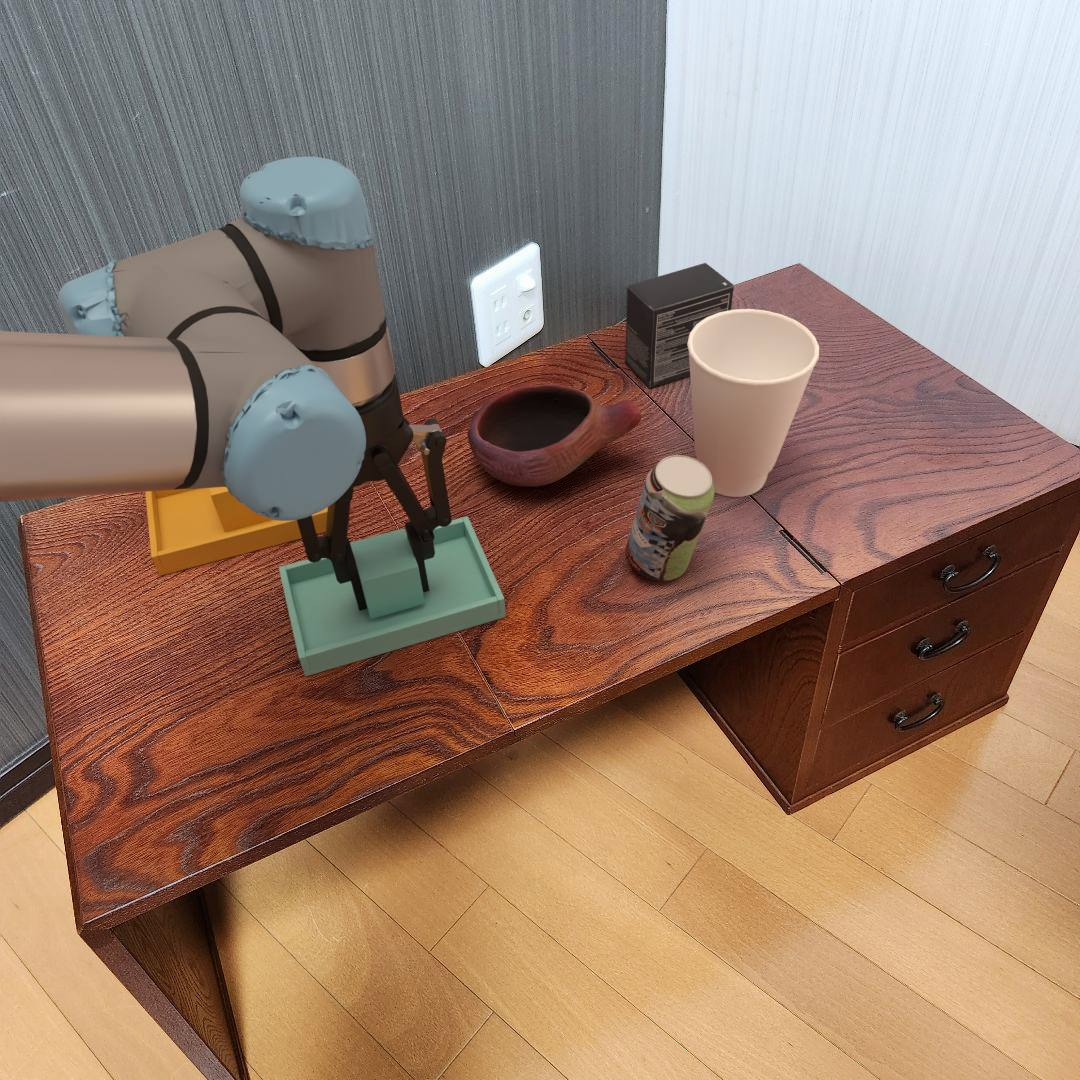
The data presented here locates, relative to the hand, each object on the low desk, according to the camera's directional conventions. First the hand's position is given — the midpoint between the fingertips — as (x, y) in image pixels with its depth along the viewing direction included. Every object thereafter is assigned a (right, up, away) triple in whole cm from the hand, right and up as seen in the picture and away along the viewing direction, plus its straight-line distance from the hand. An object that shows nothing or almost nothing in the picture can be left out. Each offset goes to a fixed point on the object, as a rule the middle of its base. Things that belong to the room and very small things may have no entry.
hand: (391, 589), depth 84 cm
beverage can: (+25, +2, +3) cm, 26 cm away
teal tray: (0, -1, +1) cm, 2 cm away
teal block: (0, 0, 0) cm, 0 cm away
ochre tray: (-16, +7, +10) cm, 20 cm away
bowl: (+14, +13, +14) cm, 24 cm away
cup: (+33, +11, +12) cm, 37 cm away
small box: (+29, +25, +26) cm, 47 cm away
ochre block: (-16, +8, +9) cm, 20 cm away
